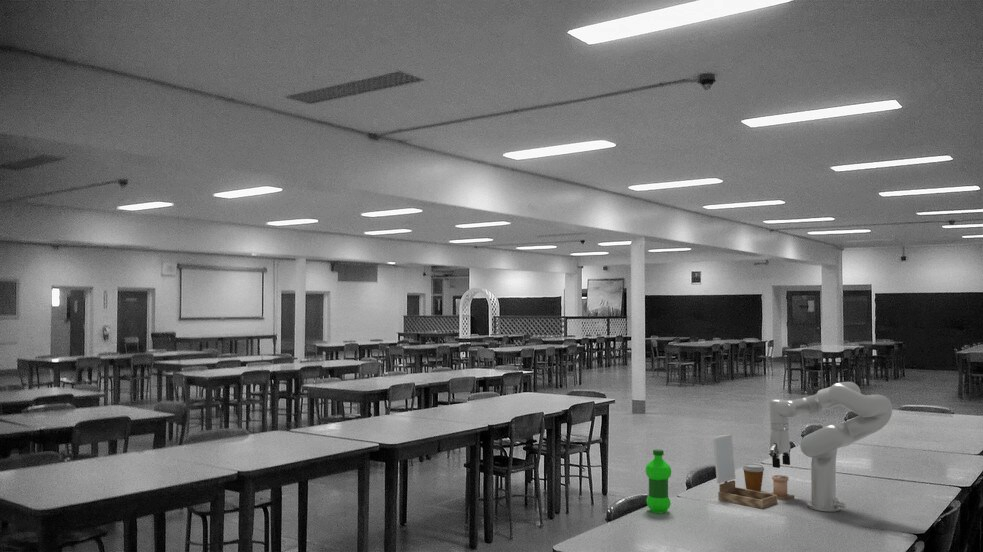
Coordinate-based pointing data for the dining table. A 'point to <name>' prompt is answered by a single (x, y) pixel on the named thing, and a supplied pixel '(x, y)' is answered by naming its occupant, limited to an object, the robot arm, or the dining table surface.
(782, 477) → the pot
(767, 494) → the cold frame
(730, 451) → the lid
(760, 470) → the disposable coffee cup
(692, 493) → the dining table surface
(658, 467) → the plastic bottle
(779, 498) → the board
